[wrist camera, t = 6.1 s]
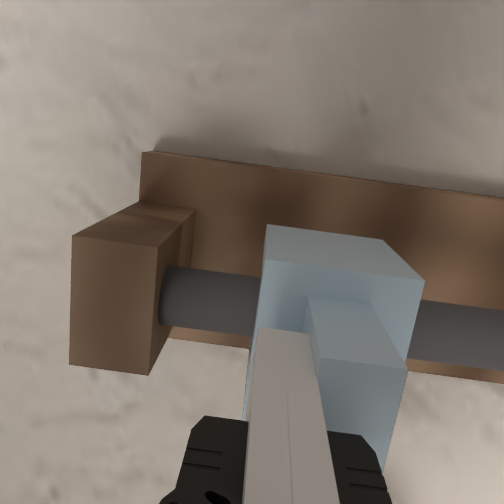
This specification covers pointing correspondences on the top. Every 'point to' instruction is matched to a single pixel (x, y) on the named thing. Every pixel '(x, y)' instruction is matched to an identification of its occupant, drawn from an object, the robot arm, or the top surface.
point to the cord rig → (251, 259)
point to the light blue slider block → (343, 322)
